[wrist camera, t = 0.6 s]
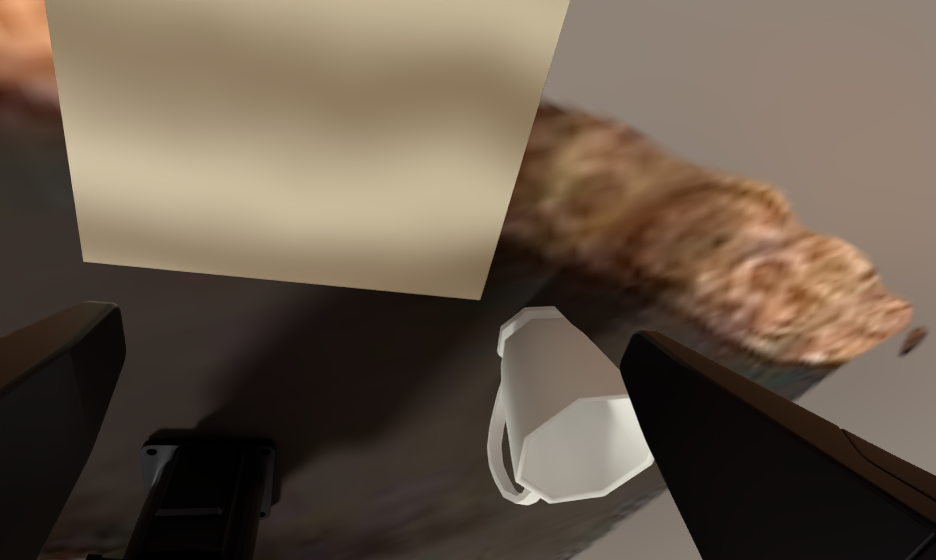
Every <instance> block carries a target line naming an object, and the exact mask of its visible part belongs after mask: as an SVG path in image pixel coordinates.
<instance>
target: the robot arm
mask: <svg viewBox="0 0 936 560" xmlns="http://www.w3.org/2000/svg"><path fill="white" fill-rule="evenodd" d="M125 356H126V344H125V337H124V331H123V324H122V317H121V311H120V309H119V307H118V305H116V304H115V303H112V302H96V301H84V302H81V303H78V304H76V305H74V306H72V307H69V308H67V309H65V310H63V311H60V312H58V313H56V314H53V315H51V316H49V317H47V318H44V319H42V320H40V321H38V322H35V323H33V324H31V325H28V326H26V327H24V328H22V329H19V330H17V331H15V332H12V333H10V334H8V335H6V336H3V337H1V338H0V560H37V558H38V556H39V554H40V552H41V550H42V548H43V547H44V545H45V543H46V541H47V539H48V537H49V535H50V533H51V531H52V529H53V527H54V525H55V523H56V521H57V519H58V517H59V515H60V513H61V511H62V509H63V507H64V505H65V503H66V502H67V500H68V498H69V496H70V494H71V492H72V490H73V488H74V486H75V484H76V482H77V480H78V478H79V476H80V474H81V472H82V470H83V468H84V466H85V464H86V462H87V460H88V458H89V456H90V454H91V451H92V449H93V446H94V444H95V441H96V439H97V436H98V433H99V431H100V428H101V425H102V422H103V420H104V417H105V414H106V411H107V409H108V406H109V403H110V400H111V397H112V395H113V392H114V389H115V386H116V384H117V381H118V378H119V375H120V372H121V370H122V367H123V364H124V361H125ZM620 373H621V376H622V379H623V382H624V385H625V387H626V390H627V393H628V395H629V398H630V401H631V404H632V406H633V409H634V412H635V415H636V417H637V420H638V423H639V425H640V428H641V431H642V433H643V436H644V438H645V441H646V443H647V445H648V447H649V449H650V452H651V454H652V456H653V458H654V460H655V462H656V464H657V466H658V468H659V470H660V472H661V474H662V477H663V479H664V481H665V483H666V485H667V487H668V489H669V491H670V493H671V495H672V497H673V499H674V501H675V503H676V505H677V507H678V510H679V512H680V514H681V516H682V518H683V520H684V522H685V524H686V526H687V528H688V530H689V532H690V534H691V536H692V538H693V541H694V543H695V545H696V547H697V549H698V551H699V553H700V555H701V557H702V559H703V560H936V476H935V475H933V474H931V473H929V472H927V471H925V470H922V469H921V468H919V467H917V466H915V465H913V464H911V463H909V462H907V461H905V460H902V459H901V458H899V457H897V456H895V455H893V454H891V453H889V452H887V451H885V450H883V449H881V448H879V447H877V446H875V445H873V444H871V443H869V442H867V441H866V440H864V439H862V438H860V437H858V436H856V435H854V434H852V433H850V432H848V431H846V430H845V429H840V428H839V427H838V426H837V425H835V424H833V423H831V422H829V421H827V420H825V419H823V418H821V417H820V416H818V415H816V414H814V413H812V412H810V411H808V410H806V409H804V408H803V407H800V406H799V405H797V404H795V403H793V402H791V401H789V400H787V399H785V398H783V397H782V396H780V395H778V394H776V393H774V392H772V391H770V390H768V389H766V388H764V387H763V386H761V385H759V384H757V383H755V382H753V381H751V380H749V379H747V378H745V377H744V376H742V375H740V374H738V373H736V372H734V371H732V370H730V369H728V368H726V367H724V366H723V365H721V364H719V363H717V362H715V361H713V360H711V359H709V358H707V357H705V356H704V355H702V354H700V353H698V352H696V351H694V350H692V349H690V348H688V347H686V346H685V345H683V344H681V343H679V342H677V341H675V340H673V339H671V338H669V337H667V336H665V335H664V334H662V333H660V332H658V331H654V330H638V331H636V332H635V333H634V334H633V335H632V337H631V339H630V341H629V344H628V346H627V348H626V350H625V353H624V355H623V357H622V359H621V362H620ZM266 449H267V450H266ZM275 452H276V444H275V443H274V442H272V441H269V440H179V439H152V440H148V441H146V442H145V443H144V445H143V447H142V449H141V459H142V468H143V478H144V487H145V496H146V500H145V503H144V506H143V508H142V511H141V513H140V516H139V518H138V521H137V524H136V526H135V529H134V531H133V534H132V537H131V539H130V542H129V544H128V547H127V549H126V552H125V555H124V557H123V559H114V558H103V557H102V556H103V555H96V554H88V556H87V558H86V560H253V555H254V549H255V543H256V537H257V531H258V525H259V520H263V519H266V518H268V517H269V516H270V512H271V503H272V490H273V478H274V465H275Z"/></svg>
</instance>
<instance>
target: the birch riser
mask: <svg viewBox="0 0 936 560" xmlns="http://www.w3.org/2000/svg"><path fill="white" fill-rule="evenodd" d="M569 3H570V0H45V6H46V13H47V19H48V26H49V33H50V40H51V46H52V53H53V60H54V66H55V73H56V80H57V87H58V93H59V100H60V107H61V113H62V120H63V127H64V134H65V140H66V147H67V154H68V160H69V167H70V174H71V181H72V187H73V194H74V201H75V207H76V214H77V221H78V228H79V234H80V241H81V248H82V255H83V261H84V262H94V263H104V264H114V265H124V266H135V267H145V268H155V269H165V270H176V271H186V272H196V273H207V274H217V275H227V276H237V277H248V278H258V279H268V280H279V281H289V282H299V283H309V284H320V285H330V286H340V287H351V288H361V289H371V290H381V291H392V292H402V293H412V294H422V295H433V296H443V297H453V298H464V299H474V300H480V299H481V296H482V292H483V289H484V286H485V282H486V279H487V276H488V272H489V269H490V266H491V262H492V259H493V256H494V252H495V249H496V246H497V242H498V239H499V236H500V232H501V229H502V226H503V222H504V219H505V216H506V212H507V209H508V206H509V202H510V199H511V196H512V192H513V189H514V186H515V182H516V179H517V176H518V172H519V169H520V166H521V162H522V159H523V156H524V152H525V149H526V146H527V143H528V139H529V136H530V133H531V129H532V126H533V123H534V119H535V116H536V113H537V109H538V106H539V103H540V99H541V96H542V93H543V89H544V86H545V83H546V79H547V76H548V73H549V69H550V66H551V63H552V59H553V56H554V53H555V49H556V46H557V43H558V39H559V36H560V33H561V29H562V26H563V22H564V19H565V16H566V13H567V9H568V6H569Z"/></svg>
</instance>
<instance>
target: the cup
mask: <svg viewBox="0 0 936 560" xmlns="http://www.w3.org/2000/svg"><path fill="white" fill-rule="evenodd" d="M497 352H498V354H499V356H501V357H502V362H501V383H500V386H499V389H498V393H497V397H496V401H495V405H494V409H493V413H492V418H491V422H490V427H489V435H488V444H487V450H488V460H489V467H490V470H491V473H492V475H493V478H494V481H495V483H496V485H497V486H498V488H499V490H500V492H501V493H502V495H503V497H504V498H506V499H508V500H510V501H512V502H514V503H517V504H524V505H530V504H532V503H535V502H537V501H538V500H539V499H540V498H542V499H543V500H545V501H547V502H548V503H557V502H565V501H572V500H579V499H586V498H594V497H601V496H605V495H606V494H608V493H610V492H611V491H613V490H614V489H616V488H617V487H619V486H620V485H622V484H623V483H625V482H626V481H628V480H629V479H631V478H632V477H634V476H635V475H637V474H638V473H640V472H641V471H643V470H644V469H646V468H647V467H649V466H650V465H652V463H653V461H654V458H653V456H652V454H651V452H650V449H649V447H648V445H647V443H646V441H645V438H644V436H643V433H642V431H641V428H640V425H639V423H638V420H637V417H636V415H635V412H634V409H633V406H632V404H631V401H630V398H629V395H628V393H627V390H626V387H625V385H624V382H623V379H622V376H621V373H620V370H619V369H618V368H617V367H616V366H615V365H614V364H613V363H612V362H611V361H610V360H609V359H608V358H607V357H606V356H605V355H604V354H603V353H602V352H601V351H600V350H599V348H598V347H597V346H596V345H595V344H594V343H593V342H592V341H591V340H590V339H589V338H588V337H587V336H586V335H585V334H584V333H583V332H581V331H580V330H579V329H577V328H576V327H575V326H573V325H572V324H571V323H570V322H569V321H568V320H567V319H566V318H565V317H564V316H563V315H562V314H561V313H560V312H559V311H558V310H557V308H556V307H555V306H545V307H525V308H523V309H522V310H521V311H520V312H518V313H517V314H516V315H515V316H513V317H512V318H511V319H510V320H508V321H507V322H506V323H505V324H503V325H502V326H501V328H500V335H499V342H498V348H497ZM505 420H506V424H507V430H508V437H509V444H510V451H511V458H512V464H513V470H514V476H515V482H517V483H519V484H520V485H522V486H523V487H525V489H524V490H523V492H522V494H520V493H518V492H516V490H515V488H514V487H513V485H512V483H511V482H510V480H509V478H508V476H507V473H506V471H505V468H504V466H503V459H502V449H501V445H502V437H503V430H504V425H505Z"/></svg>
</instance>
